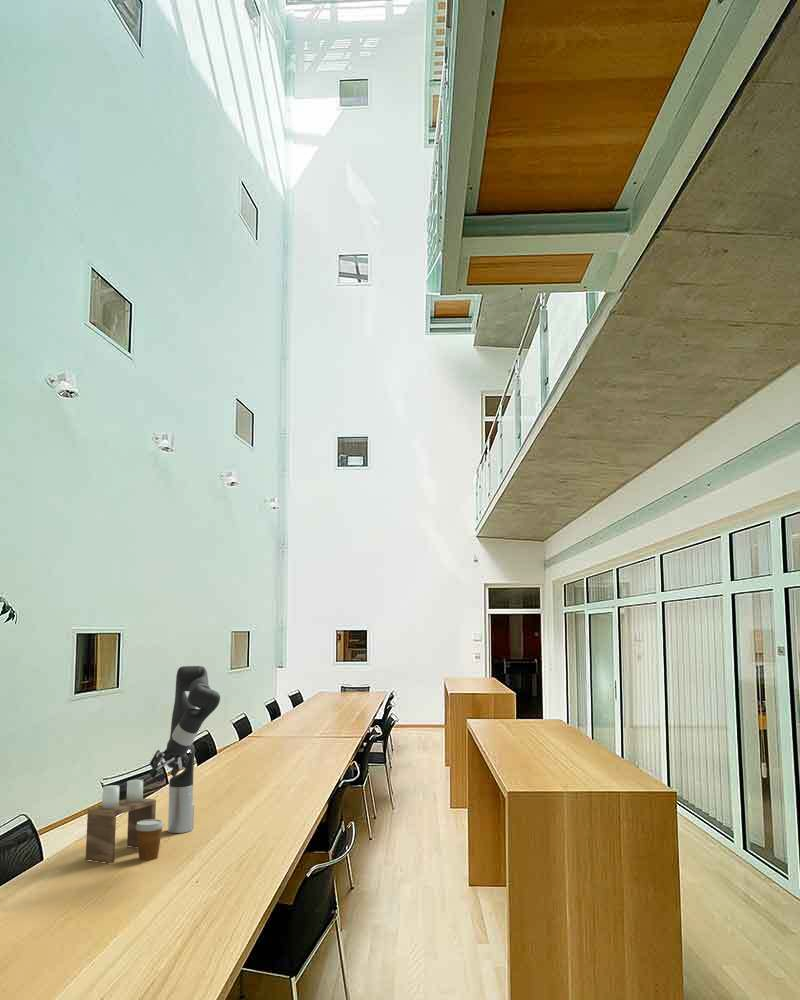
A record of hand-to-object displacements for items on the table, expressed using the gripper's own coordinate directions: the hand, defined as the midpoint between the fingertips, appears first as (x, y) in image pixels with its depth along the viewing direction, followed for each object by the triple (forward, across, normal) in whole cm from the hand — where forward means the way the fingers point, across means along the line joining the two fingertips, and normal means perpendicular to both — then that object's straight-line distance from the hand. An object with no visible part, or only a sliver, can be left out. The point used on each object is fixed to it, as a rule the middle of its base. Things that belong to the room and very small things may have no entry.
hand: (162, 776), depth 288 cm
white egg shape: (+21, -6, -12) cm, 25 cm away
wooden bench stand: (+35, -1, -1) cm, 35 cm away
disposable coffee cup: (+28, -4, +10) cm, 30 cm away
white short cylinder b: (+21, +6, -9) cm, 23 cm away
